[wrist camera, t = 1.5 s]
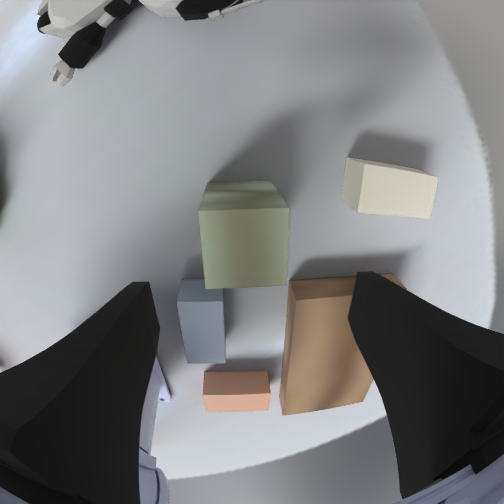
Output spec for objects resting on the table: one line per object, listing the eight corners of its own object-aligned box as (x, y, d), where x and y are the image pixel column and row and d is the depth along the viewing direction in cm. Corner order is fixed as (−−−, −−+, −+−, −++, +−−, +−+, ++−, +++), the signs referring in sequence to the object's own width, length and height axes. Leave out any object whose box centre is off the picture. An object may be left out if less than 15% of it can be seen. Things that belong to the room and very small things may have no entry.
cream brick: (339, 199, 19) (357, 212, 16) (345, 156, 18) (364, 163, 15) (407, 205, 19) (429, 218, 17) (414, 168, 18) (438, 177, 15)
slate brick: (225, 337, 23) (225, 363, 21) (190, 337, 23) (187, 363, 20) (222, 277, 21) (222, 301, 18) (182, 278, 21) (176, 301, 18)
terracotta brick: (206, 388, 26) (205, 411, 24) (204, 370, 25) (203, 394, 22) (265, 386, 27) (268, 409, 24) (267, 368, 26) (270, 393, 23)
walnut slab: (279, 397, 28) (282, 415, 25) (289, 280, 21) (296, 300, 19) (356, 385, 28) (362, 401, 26) (392, 272, 22) (406, 288, 19)
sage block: (211, 240, 19) (205, 289, 14) (207, 182, 18) (198, 211, 12) (269, 237, 20) (286, 285, 14) (270, 180, 18) (289, 207, 12)
